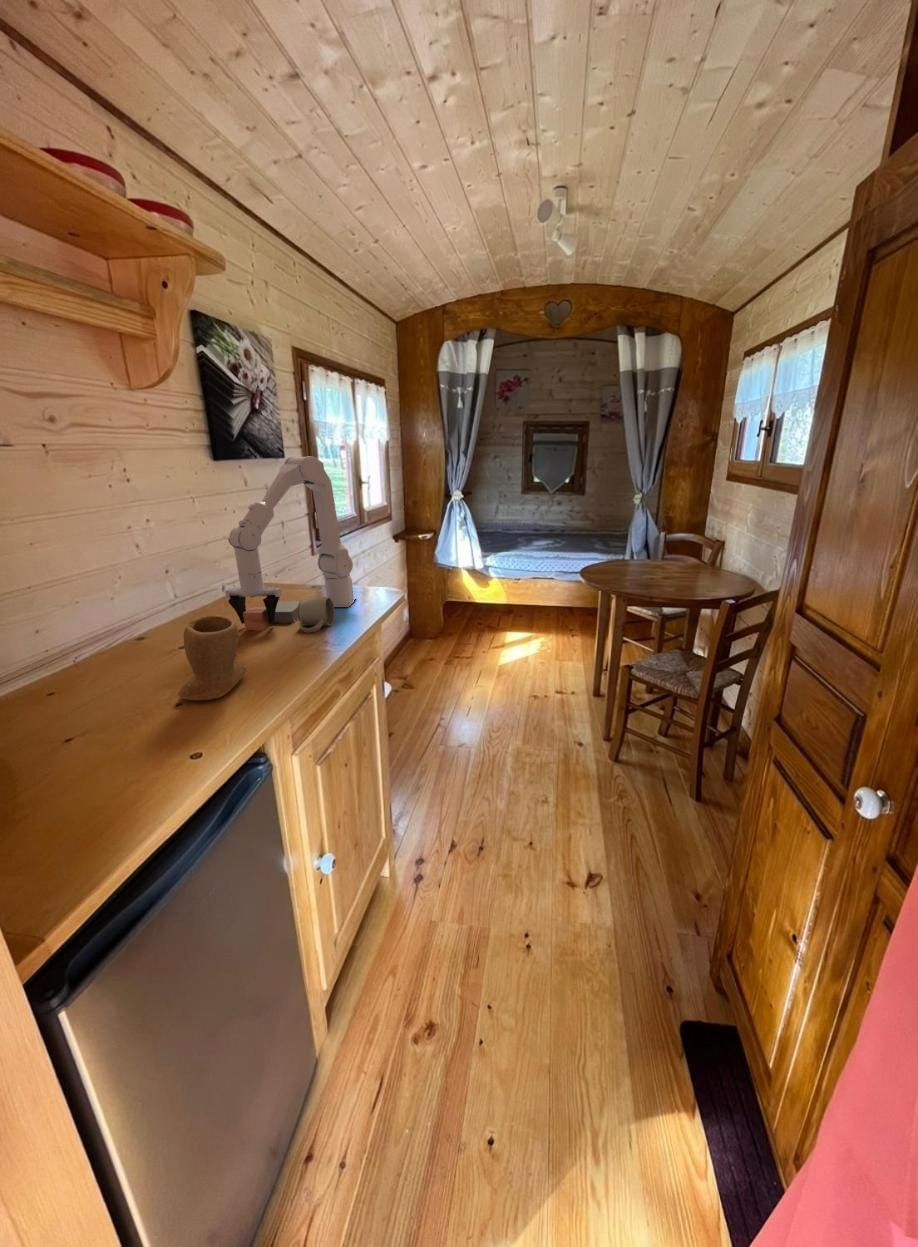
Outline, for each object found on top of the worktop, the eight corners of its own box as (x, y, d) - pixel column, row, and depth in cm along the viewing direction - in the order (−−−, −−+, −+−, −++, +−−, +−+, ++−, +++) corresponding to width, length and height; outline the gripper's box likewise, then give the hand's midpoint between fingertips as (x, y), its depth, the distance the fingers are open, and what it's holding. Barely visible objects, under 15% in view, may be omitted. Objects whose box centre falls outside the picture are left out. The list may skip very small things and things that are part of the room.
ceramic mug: (307, 620, 151) (303, 594, 148) (336, 620, 150) (333, 593, 147) (293, 634, 141) (289, 605, 138) (324, 633, 140) (320, 605, 137)
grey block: (273, 613, 160) (271, 601, 159) (306, 612, 159) (304, 601, 158) (258, 624, 151) (256, 612, 149) (293, 623, 150) (291, 611, 148)
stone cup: (232, 705, 102) (218, 629, 98) (171, 705, 103) (154, 631, 98) (263, 672, 117) (252, 605, 112) (209, 673, 117) (195, 607, 112)
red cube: (254, 624, 149) (251, 607, 147) (271, 624, 149) (269, 607, 147) (245, 630, 144) (242, 612, 143) (263, 630, 144) (261, 612, 142)
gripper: (215, 576, 139) (225, 627, 143) (270, 576, 137) (278, 626, 142) (229, 570, 145) (237, 619, 150) (281, 569, 144) (288, 618, 148)
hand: (258, 622), depth 146 cm, fingers open, 7 cm apart
